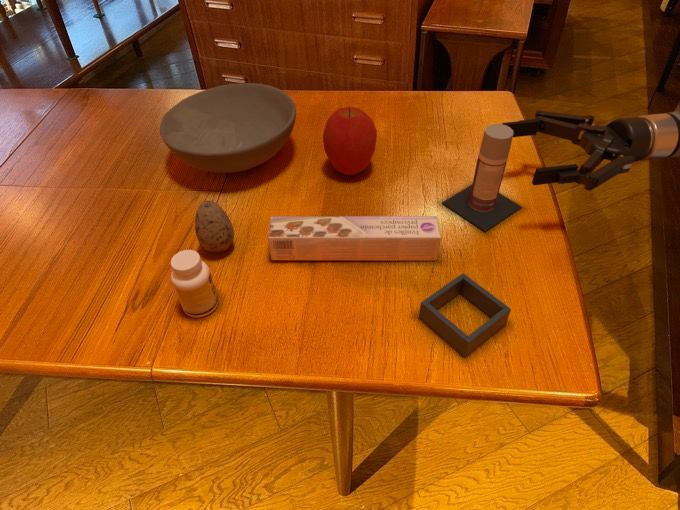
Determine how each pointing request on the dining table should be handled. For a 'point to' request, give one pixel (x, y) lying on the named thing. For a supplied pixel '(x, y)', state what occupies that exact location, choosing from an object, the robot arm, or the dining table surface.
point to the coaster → (480, 219)
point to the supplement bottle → (193, 284)
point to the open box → (475, 296)
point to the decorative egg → (213, 227)
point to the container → (490, 167)
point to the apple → (349, 140)
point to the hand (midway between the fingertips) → (516, 152)
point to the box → (354, 237)
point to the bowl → (229, 126)
